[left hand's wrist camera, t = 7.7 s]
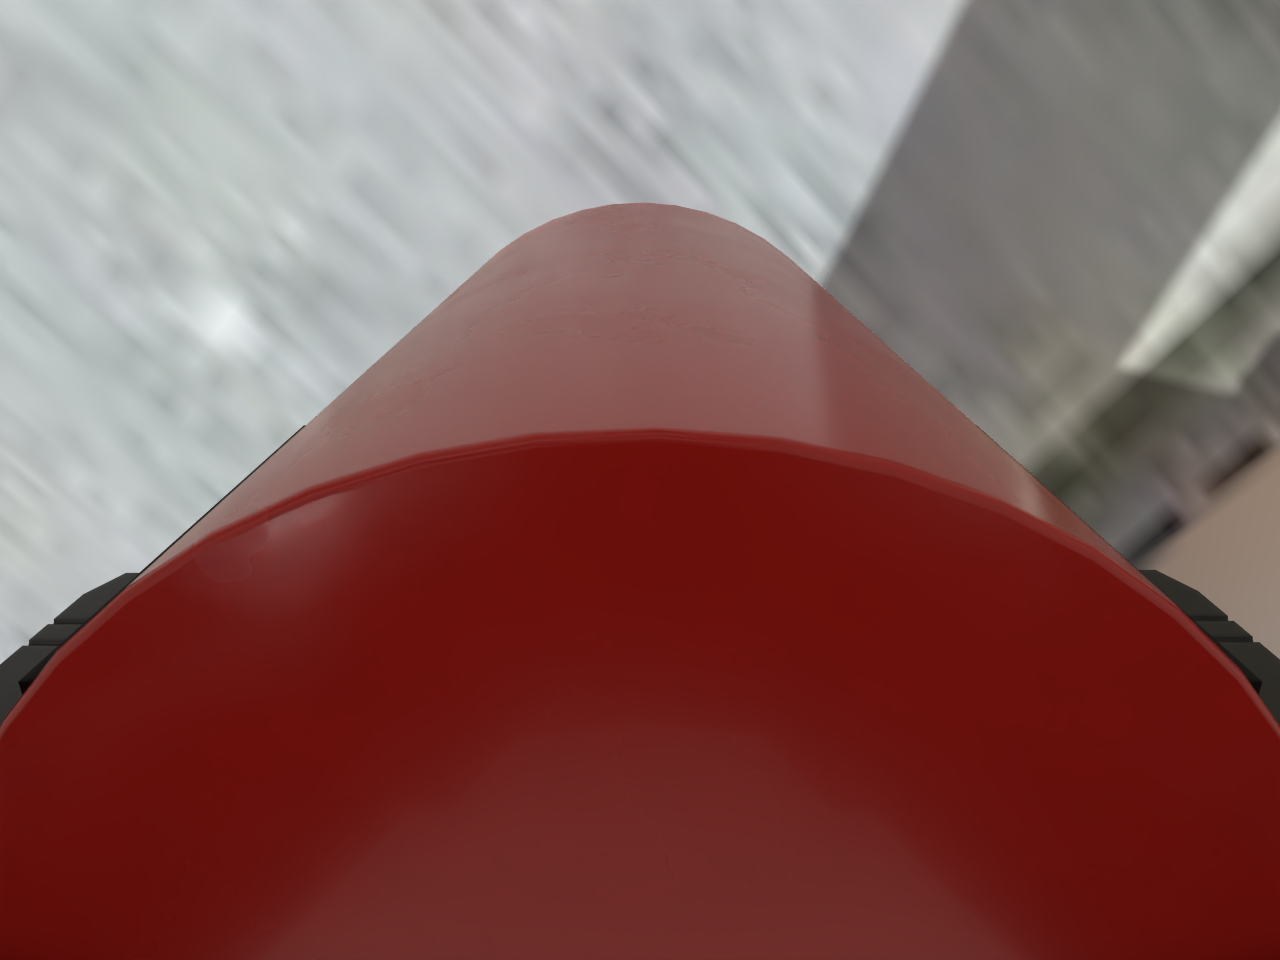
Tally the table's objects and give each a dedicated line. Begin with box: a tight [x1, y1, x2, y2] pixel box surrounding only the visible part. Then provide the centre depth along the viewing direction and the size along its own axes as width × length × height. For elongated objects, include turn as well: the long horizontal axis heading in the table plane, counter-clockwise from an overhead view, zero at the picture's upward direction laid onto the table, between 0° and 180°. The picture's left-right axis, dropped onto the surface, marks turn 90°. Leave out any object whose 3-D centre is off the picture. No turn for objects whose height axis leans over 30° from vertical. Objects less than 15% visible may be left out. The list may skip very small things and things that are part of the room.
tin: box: [0, 203, 1280, 960], centre depth 11 cm, size 8×8×12 cm
